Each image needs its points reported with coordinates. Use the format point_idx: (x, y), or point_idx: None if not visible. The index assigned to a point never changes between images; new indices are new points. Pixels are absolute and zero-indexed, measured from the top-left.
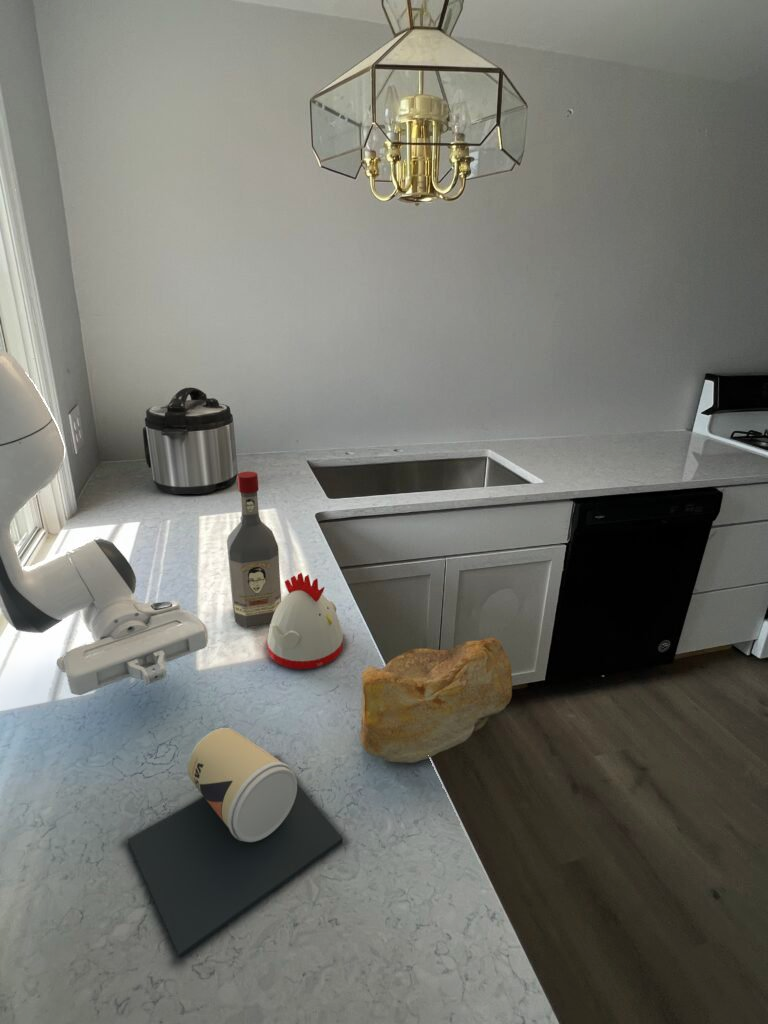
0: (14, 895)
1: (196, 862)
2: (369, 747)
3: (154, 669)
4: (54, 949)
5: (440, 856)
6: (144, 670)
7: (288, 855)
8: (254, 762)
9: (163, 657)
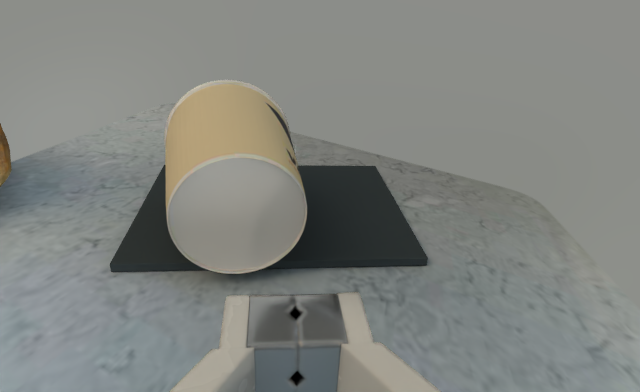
0: (599, 274)
1: (334, 203)
2: (9, 155)
3: (291, 305)
4: (506, 213)
5: (106, 139)
6: (353, 323)
7: None
8: (221, 91)
9: (172, 390)
